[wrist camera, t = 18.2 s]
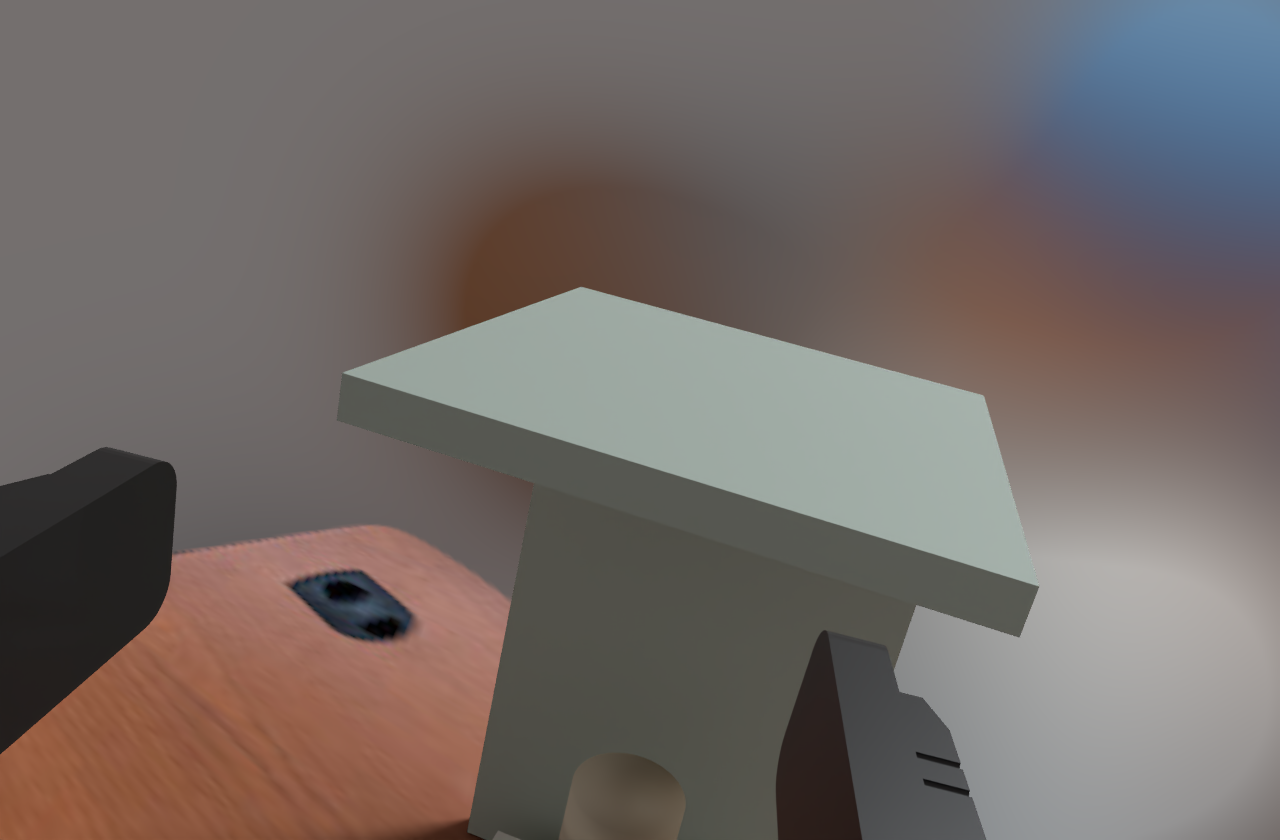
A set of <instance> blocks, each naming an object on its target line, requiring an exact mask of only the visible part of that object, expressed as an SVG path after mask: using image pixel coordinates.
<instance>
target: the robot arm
mask: <svg viewBox="0 0 1280 840" xmlns="http://www.w3.org/2000/svg"><path fill="white" fill-rule="evenodd" d="M176 487H177V481H176V474H175V470H174V469H173V467H172V466H171V464H169V463H168V462H164V461H161V460H157V459H153V458H149V457H145V456H141V455H137V454H133V453H129V452H125V451H121V450H117V449H113V448H108V447H105V448H100V449H98V450H96V451H94V452H92V453H90V454H88V455H86V456H85V457H83V458H81V459H79V460H77V461H75V462H73V463H71V464H69V465H67V466H66V467H64V468H62V469H60V470H58V471H56V472H54V473H52V474H47V475H43V476H39V477H35V478H31V479H27V480H23V481H19V482H15V483H11V484H7V485H3V486H0V754H1V753H2V752H3V751H5V750H6V749H7V748H8V747H9V746H10V745H11V744H13V743H14V742H15V741H16V740H17V739H18V738H20V737H21V736H22V735H23V734H24V733H25V732H26V731H28V730H29V729H30V728H31V727H32V726H33V725H34V724H36V723H37V722H38V721H39V720H40V719H41V718H42V717H44V716H45V715H46V714H47V713H48V712H49V711H51V710H52V709H53V708H54V707H55V706H56V705H57V704H59V703H60V702H61V701H62V700H63V699H64V698H65V697H67V696H68V695H69V694H70V693H71V692H72V691H74V690H75V689H76V688H77V687H78V686H79V685H80V684H82V683H83V682H84V681H85V680H86V679H87V678H88V677H90V676H91V675H92V674H93V673H94V672H95V671H97V670H98V669H99V668H100V667H101V666H102V665H103V664H105V663H106V662H107V661H108V660H109V659H110V658H111V657H113V656H114V655H115V654H116V653H117V652H118V651H120V650H121V649H122V648H123V647H124V646H125V645H126V644H128V643H129V642H130V641H131V640H132V639H133V638H134V637H136V636H137V635H138V634H139V633H140V632H141V631H142V630H144V629H145V628H146V627H147V626H148V625H149V624H150V622H151V621H152V620H153V619H154V617H155V616H156V614H157V613H158V611H159V609H160V607H161V605H162V603H163V601H164V598H165V596H166V593H167V590H168V586H169V582H170V575H171V561H172V546H173V531H174V517H175V502H176ZM969 791H970V790H969V787H968V784H967V781H966V778H965V775H964V772H963V770H962V769H960V760H959V757H958V754H957V751H956V748H955V745H954V742H953V739H952V736H951V733H950V730H949V729H948V728H947V727H946V725H945V724H944V723H943V722H942V721H941V719H940V718H939V717H938V716H937V715H936V714H935V712H934V711H933V710H932V709H931V708H930V706H929V705H928V704H927V703H926V702H925V700H924V699H923V698H921V697H917V696H913V695H909V694H905V693H901V692H899V689H898V685H897V682H896V678H895V675H894V671H893V667H892V663H891V660H890V656H889V652H888V650H887V647H886V646H885V645H882V644H878V643H874V642H870V641H866V640H862V639H858V638H854V637H851V636H847V635H843V634H839V633H835V632H831V631H827V630H823V631H822V632H821V633H820V635H819V636H818V638H817V640H816V643H815V645H814V648H813V651H812V654H811V657H810V660H809V663H808V666H807V669H806V672H805V675H804V678H803V681H802V684H801V687H800V690H799V693H798V696H797V699H796V702H795V705H794V708H793V711H792V714H791V717H790V720H789V723H788V726H787V729H786V732H785V735H784V738H783V742H782V746H781V750H780V755H779V760H778V767H777V774H776V809H777V828H778V840H986V837H985V834H984V832H983V829H982V825H981V822H980V819H979V817H978V814H977V811H976V808H975V805H974V802H973V799H972V797H969Z"/></svg>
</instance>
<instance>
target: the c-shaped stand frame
mask: <svg viewBox="0 0 1280 840" xmlns="http://www.w3.org/2000/svg"><path fill="white" fill-rule="evenodd" d="M337 420H338V421H341V422H344V423H347V424H350V425H353V426H357V427H360V428H363V429H366V430H369V431H372V432H375V433H379V434H382V435H385V436H388V437H391V438H394V439H398V440H401V441H404V442H407V443H410V444H413V445H416V446H420V447H423V448H426V449H429V450H432V451H435V452H439V453H441V454H445V455H448V456H451V457H454V458H457V459H461V460H463V461H467V462H470V463H473V464H476V465H479V466H482V467H486V468H489V469H492V470H495V471H498V472H501V473H504V474H507V475H511V476H514V477H517V478H520V479H523V480H526V481H529V482H533V483H534V486H533V491H532V497H531V502H530V507H529V512H528V517H527V523H526V528H525V533H524V538H523V543H522V549H521V554H520V559H519V564H518V570H517V575H516V580H515V585H514V590H513V596H512V601H511V606H510V611H509V616H508V622H507V627H506V632H505V637H504V642H503V648H502V653H501V658H500V663H499V668H498V674H497V679H496V684H495V689H494V694H493V700H492V705H491V710H490V715H489V721H488V726H487V731H486V736H485V741H484V747H483V752H482V757H481V762H480V767H479V773H478V778H477V783H476V788H475V794H474V799H473V804H472V809H471V814H470V820H469V825H468V830H467V832H468V833H471V834H473V835H476V836H478V837H481V838H483V839H485V840H492V839H493V838H494V836H495V835H496V833H497V831H501V832H503V833H505V834H508V835H510V836H513V837H515V838H518V839H520V840H559V836H560V831H561V827H562V823H563V818H564V814H565V810H566V805H567V801H568V796H569V792H570V788H571V783H572V779H573V775H574V773H575V771H576V770H577V768H578V767H579V766H580V765H581V764H582V763H583V762H584V761H586V760H587V759H589V758H591V757H593V756H596V755H600V754H604V753H628V754H633V755H637V756H641V757H644V758H646V759H649V760H651V761H653V762H655V763H657V764H658V765H660V766H662V767H663V768H664V769H666V770H667V771H668V772H669V773H670V774H671V775H673V776H674V778H675V779H676V780H677V781H678V783H679V784H680V786H681V788H682V790H683V792H684V795H685V800H686V807H685V812H684V815H683V819H682V822H681V826H680V830H679V833H678V837H677V840H778V828H777V809H776V774H777V767H778V760H779V755H780V750H781V746H782V742H783V738H784V735H785V732H786V729H787V726H788V723H789V720H790V717H791V714H792V711H793V708H794V705H795V702H796V699H797V696H798V693H799V690H800V687H801V684H802V681H803V678H804V675H805V672H806V669H807V666H808V663H809V660H810V657H811V654H812V651H813V648H814V645H815V643H816V640H817V638H818V636H819V635H820V633H821V632H822V631H823V630H827V631H831V632H835V633H839V634H843V635H847V636H851V637H854V638H858V639H862V640H866V641H870V642H874V643H878V644H882V645H885V646H886V647H887V650H888V652H889V656H890V660H891V663H892V667H893V671H894V668H895V665H896V662H897V659H898V656H899V653H900V650H901V647H902V645H903V642H904V639H905V636H906V633H907V630H908V627H909V624H910V621H911V618H912V616H913V613H914V610H915V607H916V605H919V606H922V607H925V608H928V609H932V610H935V611H938V612H941V613H944V614H948V615H950V616H953V617H957V618H960V619H963V620H966V621H969V622H972V623H975V624H978V625H982V626H985V627H988V628H991V629H994V630H998V631H1000V632H1004V633H1007V634H1010V635H1013V636H1017V637H1020V635H1021V632H1022V630H1023V627H1024V624H1025V622H1026V619H1027V617H1028V614H1029V611H1030V609H1031V606H1032V604H1033V601H1034V599H1035V596H1036V594H1037V591H1038V588H1039V584H1038V581H1037V577H1036V574H1035V570H1034V567H1033V563H1032V560H1031V557H1030V553H1029V549H1028V546H1027V543H1026V539H1025V536H1024V533H1023V529H1022V525H1021V522H1020V519H1019V515H1018V512H1017V508H1016V505H1015V502H1014V498H1013V495H1012V491H1011V488H1010V484H1009V481H1008V477H1007V474H1006V471H1005V467H1004V464H1003V460H1002V457H1001V453H1000V450H999V446H998V443H997V440H996V436H995V433H994V430H993V426H992V422H991V419H990V416H989V412H988V409H987V405H986V402H985V398H984V396H983V395H979V394H975V393H972V392H968V391H965V390H961V389H957V388H954V387H950V386H946V385H942V384H939V383H935V382H931V381H928V380H924V379H920V378H917V377H912V376H909V375H905V374H902V373H898V372H894V371H891V370H887V369H883V368H879V367H876V366H872V365H868V364H864V363H861V362H857V361H853V360H850V359H846V358H842V357H839V356H835V355H831V354H827V353H824V352H820V351H816V350H813V349H809V348H805V347H801V346H798V345H794V344H791V343H787V342H783V341H780V340H776V339H772V338H768V337H764V336H761V335H757V334H754V333H750V332H746V331H742V330H739V329H735V328H731V327H727V326H724V325H720V324H717V323H713V322H709V321H705V320H702V319H698V318H694V317H691V316H686V315H683V314H679V313H676V312H672V311H668V310H664V309H661V308H657V307H654V306H650V305H646V304H642V303H639V302H635V301H631V300H628V299H624V298H620V297H617V296H613V295H609V294H605V293H602V292H598V291H594V290H591V289H587V288H583V287H580V288H577V289H574V290H571V291H569V292H566V293H563V294H560V295H557V296H555V297H552V298H549V299H546V300H543V301H541V302H538V303H535V304H532V305H530V306H527V307H524V308H522V309H519V310H516V311H513V312H510V313H507V314H505V315H502V316H499V317H496V318H494V319H491V320H488V321H485V322H482V323H480V324H477V325H474V326H471V327H468V328H466V329H463V330H460V331H458V332H455V333H452V334H449V335H446V336H444V337H441V338H438V339H435V340H432V341H430V342H427V343H424V344H421V345H419V346H416V347H413V348H410V349H408V350H405V351H402V352H399V353H396V354H394V355H391V356H388V357H385V358H383V359H380V360H377V361H374V362H372V363H369V364H366V365H363V366H360V367H357V368H355V369H352V370H349V371H347V372H344V373H342V381H341V390H340V398H339V406H338V415H337Z"/></svg>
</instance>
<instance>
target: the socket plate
mask: <svg viewBox="0 0 1280 840" xmlns="http://www.w3.org/2000/svg"><path fill="white" fill-rule="evenodd" d="M492 840H520V839H518V838H515V837H513V836H510V835H508V834H505V833H503V832H501V831H497V833H496V835H495V836H494V838H493V839H492Z"/></svg>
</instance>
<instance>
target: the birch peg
mask: <svg viewBox="0 0 1280 840" xmlns="http://www.w3.org/2000/svg"><path fill="white" fill-rule="evenodd" d="M685 807H686V800H685V795H684V792H683V790H682V788H681V786H680V784H679V783H678V781H677V780H676V779H675V778H674V776H673V775H671V774H670V773H669V772H668V771H667V770H666V769H664V768H663V767H662V766H660V765H658V764H657V763H655V762H653V761H651V760H649V759H646V758H644V757H641V756H637V755H633V754H628V753H604V754H600V755H596V756H593V757H591V758H589V759H587V760H586V761H584V762H583V763H582V764H581V765H580V766H579V767H578V768H577V770H576V771H575V773H574V775H573V779H572V783H571V788H570V792H569V796H568V801H567V805H566V810H565V814H564V818H563V823H562V827H561V831H560V836H559V840H677V837H678V833H679V830H680V826H681V822H682V819H683V815H684V812H685Z"/></svg>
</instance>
